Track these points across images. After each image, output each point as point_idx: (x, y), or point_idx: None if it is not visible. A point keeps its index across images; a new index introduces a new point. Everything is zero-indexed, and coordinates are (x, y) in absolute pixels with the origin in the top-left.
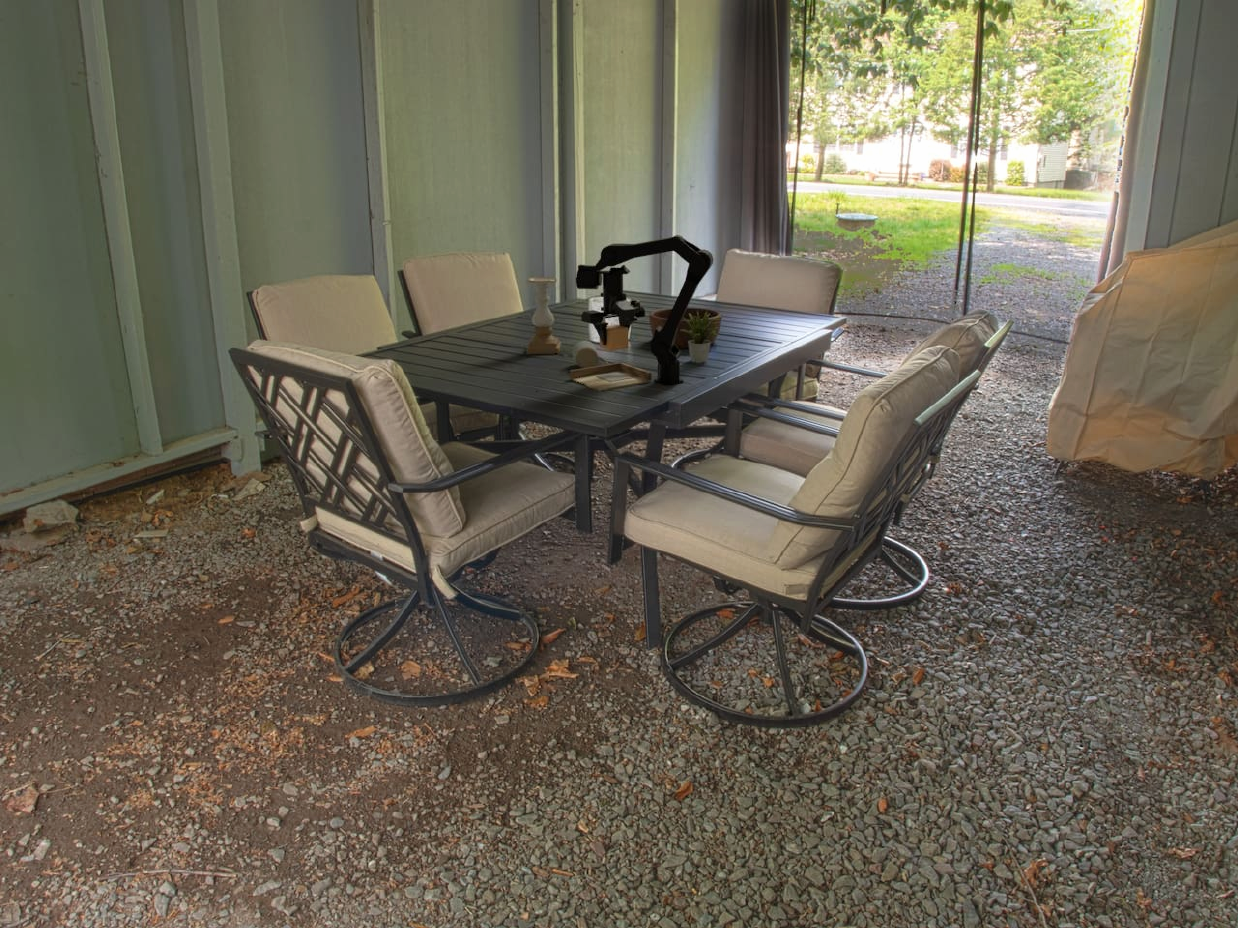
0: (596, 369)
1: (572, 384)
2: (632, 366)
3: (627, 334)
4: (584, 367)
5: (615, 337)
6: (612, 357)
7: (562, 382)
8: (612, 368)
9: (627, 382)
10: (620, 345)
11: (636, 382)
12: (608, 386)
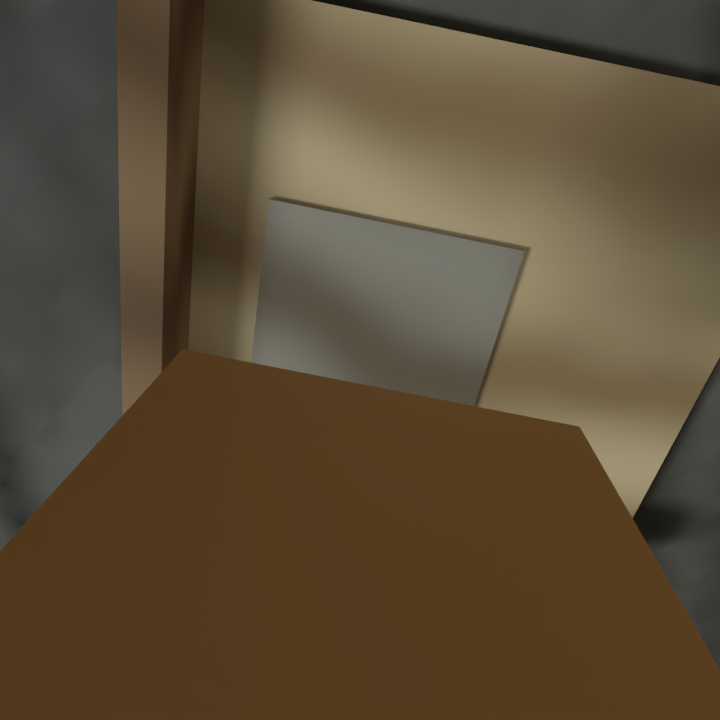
0: None
1: (715, 459)
2: (133, 336)
3: (18, 571)
4: None
5: (532, 631)
6: None
7: (700, 541)
8: None
9: (432, 96)
10: (360, 427)
11: (365, 13)
12: (692, 127)
